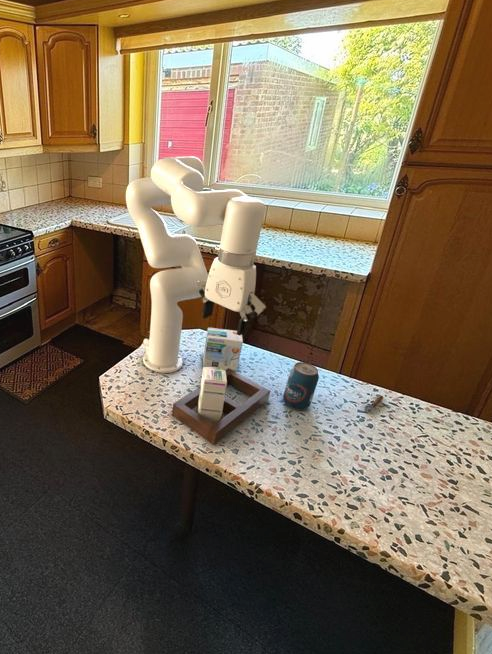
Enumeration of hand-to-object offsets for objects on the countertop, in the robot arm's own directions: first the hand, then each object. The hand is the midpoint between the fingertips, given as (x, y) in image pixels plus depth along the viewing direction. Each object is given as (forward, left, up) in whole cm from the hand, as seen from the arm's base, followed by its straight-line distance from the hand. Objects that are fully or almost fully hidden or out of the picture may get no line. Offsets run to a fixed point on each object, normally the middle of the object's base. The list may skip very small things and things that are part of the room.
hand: (223, 324), depth 94 cm
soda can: (+13, +23, -28) cm, 38 cm away
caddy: (+1, +5, -28) cm, 28 cm away
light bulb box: (-12, +23, -28) cm, 38 cm away
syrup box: (+1, -1, -28) cm, 28 cm away
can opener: (+27, +39, -28) cm, 55 cm away
